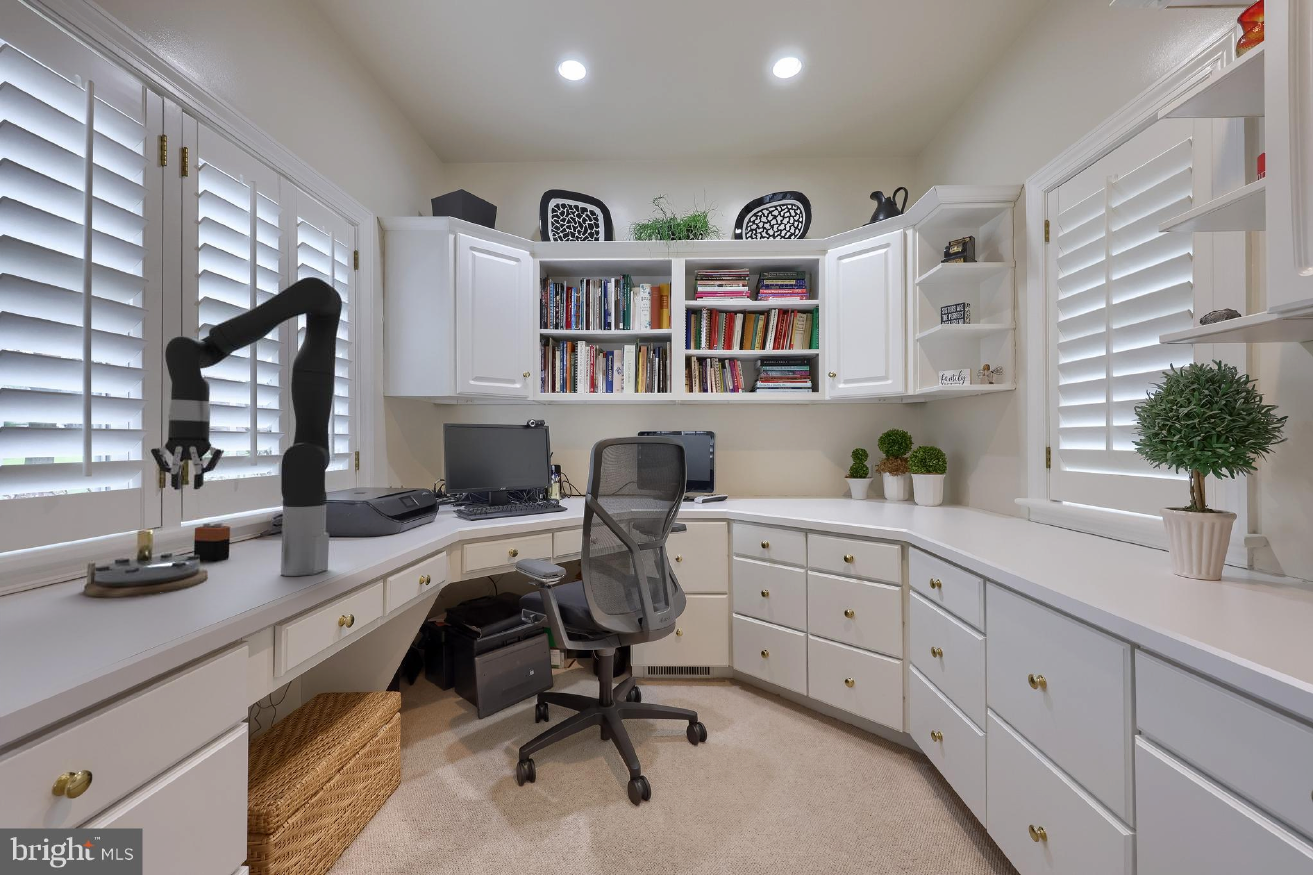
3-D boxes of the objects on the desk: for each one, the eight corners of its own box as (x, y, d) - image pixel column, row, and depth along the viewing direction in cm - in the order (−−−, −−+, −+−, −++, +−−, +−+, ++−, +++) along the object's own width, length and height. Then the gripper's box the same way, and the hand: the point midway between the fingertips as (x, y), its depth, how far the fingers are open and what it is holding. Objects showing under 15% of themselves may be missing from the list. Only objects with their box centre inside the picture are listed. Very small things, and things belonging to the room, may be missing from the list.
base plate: (229, 574, 128) (229, 550, 128) (154, 598, 108) (155, 570, 108) (145, 573, 127) (146, 549, 127) (54, 597, 107) (55, 568, 107)
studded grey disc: (218, 568, 126) (219, 528, 127) (153, 587, 110) (155, 542, 110) (145, 567, 126) (147, 527, 126) (70, 586, 109) (71, 540, 109)
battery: (215, 562, 140) (216, 525, 140) (192, 560, 140) (193, 524, 141) (230, 558, 144) (231, 522, 144) (207, 557, 145) (209, 521, 145)
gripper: (230, 421, 133) (227, 487, 133) (157, 418, 127) (154, 488, 127) (222, 420, 127) (219, 490, 127) (145, 417, 120) (142, 491, 120)
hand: (187, 488), depth 127 cm, fingers open, 3 cm apart
